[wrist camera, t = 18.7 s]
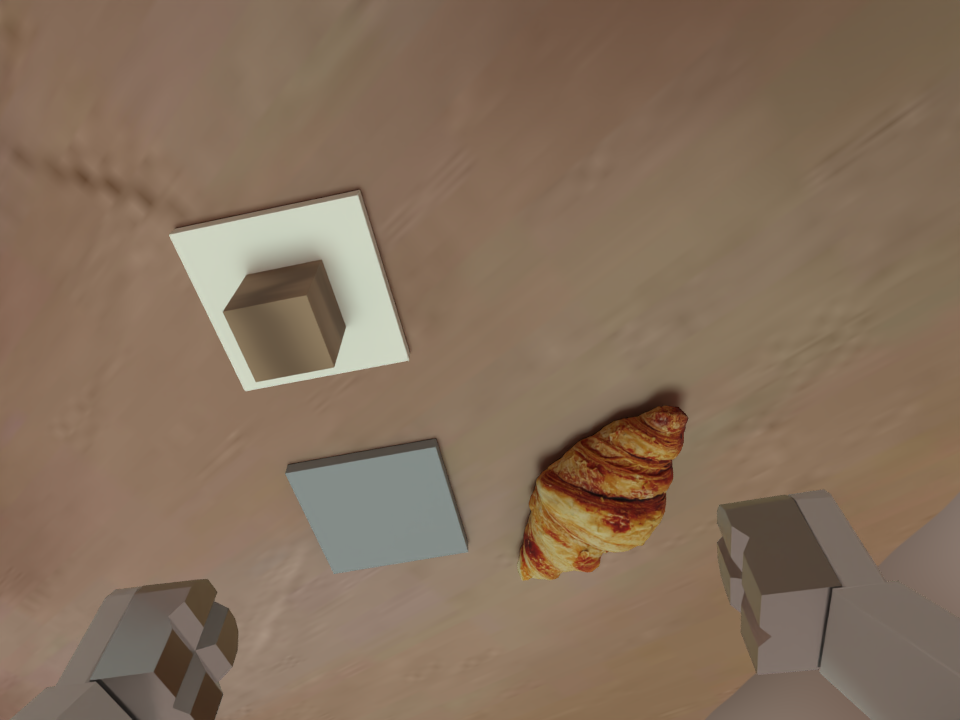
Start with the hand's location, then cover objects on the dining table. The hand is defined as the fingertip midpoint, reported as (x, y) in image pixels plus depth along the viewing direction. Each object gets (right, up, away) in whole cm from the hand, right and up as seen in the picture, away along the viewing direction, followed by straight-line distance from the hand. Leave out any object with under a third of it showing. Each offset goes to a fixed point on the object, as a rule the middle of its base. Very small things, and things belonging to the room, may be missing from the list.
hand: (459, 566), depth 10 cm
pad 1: (-12, +8, +33) cm, 36 cm away
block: (-12, +7, +32) cm, 35 cm away
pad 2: (-8, -9, +44) cm, 45 cm away
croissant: (+9, -7, +43) cm, 45 cm away
